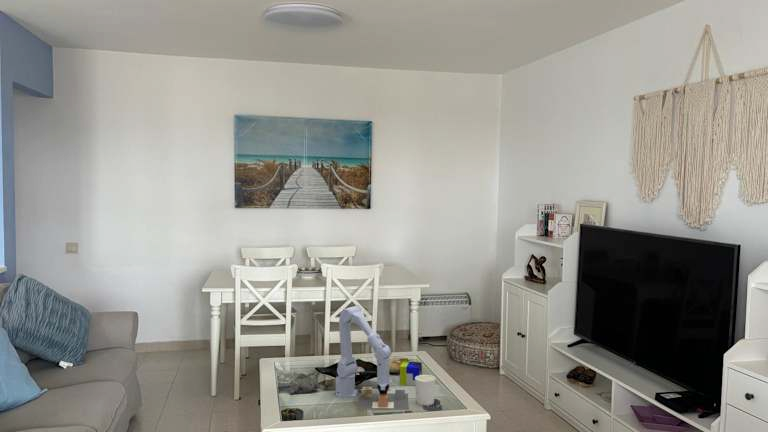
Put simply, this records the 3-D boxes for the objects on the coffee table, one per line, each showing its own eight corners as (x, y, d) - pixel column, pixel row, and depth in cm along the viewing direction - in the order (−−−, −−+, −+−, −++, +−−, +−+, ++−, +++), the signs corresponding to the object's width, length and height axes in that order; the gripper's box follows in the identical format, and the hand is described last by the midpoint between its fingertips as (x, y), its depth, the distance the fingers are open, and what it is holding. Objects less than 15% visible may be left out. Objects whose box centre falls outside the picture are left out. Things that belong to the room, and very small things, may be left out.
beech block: (362, 399, 280) (362, 389, 280) (362, 395, 285) (362, 386, 284) (371, 399, 280) (371, 389, 280) (371, 395, 284) (371, 386, 284)
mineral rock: (320, 391, 293) (320, 371, 292) (309, 397, 283) (309, 377, 282) (298, 387, 298) (298, 368, 297) (287, 394, 288) (287, 374, 287)
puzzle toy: (419, 386, 299) (419, 367, 299) (400, 385, 301) (400, 366, 301) (421, 380, 309) (421, 362, 308) (403, 379, 311) (403, 361, 310)
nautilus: (422, 369, 330) (420, 379, 315) (384, 366, 333) (381, 375, 318) (423, 356, 329) (421, 365, 315) (385, 352, 332) (382, 361, 317)
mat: (356, 410, 266) (356, 409, 266) (359, 393, 288) (359, 393, 288) (408, 410, 266) (408, 409, 266) (407, 394, 288) (407, 393, 288)
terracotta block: (378, 407, 269) (378, 397, 269) (378, 403, 274) (378, 394, 274) (387, 407, 269) (387, 397, 269) (387, 403, 274) (387, 394, 274)
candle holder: (421, 407, 269) (421, 382, 269) (411, 401, 278) (411, 376, 277) (439, 404, 274) (439, 379, 273) (428, 398, 282) (428, 373, 282)
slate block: (395, 399, 280) (395, 390, 280) (395, 396, 284) (395, 386, 284) (404, 399, 280) (404, 390, 280) (404, 396, 284) (404, 387, 284)
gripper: (391, 376, 267) (391, 405, 268) (391, 367, 282) (391, 395, 282) (376, 376, 268) (376, 405, 268) (377, 367, 282) (377, 394, 283)
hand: (383, 400), depth 275 cm, fingers closed
